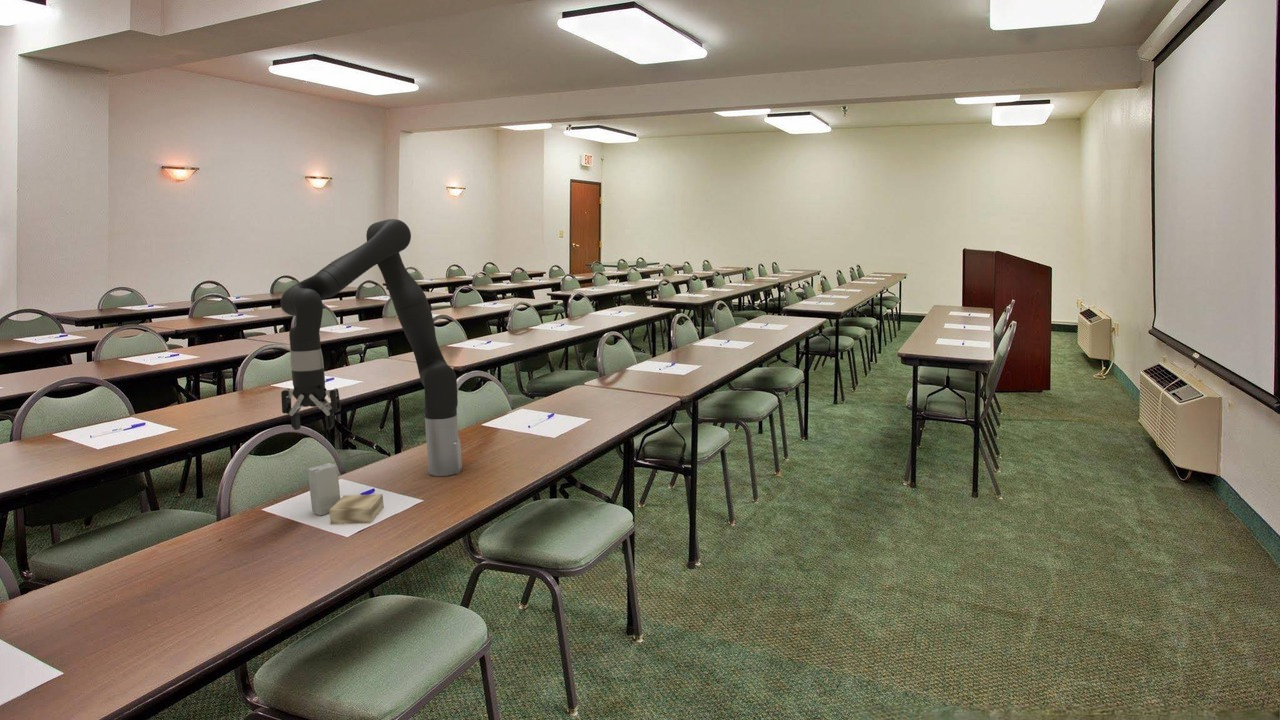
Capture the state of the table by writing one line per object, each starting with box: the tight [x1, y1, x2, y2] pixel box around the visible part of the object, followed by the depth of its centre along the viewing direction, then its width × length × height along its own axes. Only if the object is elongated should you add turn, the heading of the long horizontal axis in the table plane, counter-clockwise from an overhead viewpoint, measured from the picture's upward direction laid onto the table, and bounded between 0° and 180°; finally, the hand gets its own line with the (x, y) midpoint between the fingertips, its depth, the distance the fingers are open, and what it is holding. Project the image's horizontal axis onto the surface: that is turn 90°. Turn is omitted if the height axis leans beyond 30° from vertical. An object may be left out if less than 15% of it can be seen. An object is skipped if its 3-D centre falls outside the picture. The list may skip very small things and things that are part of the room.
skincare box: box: [307, 462, 341, 517], centre depth 188 cm, size 6×4×12 cm
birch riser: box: [329, 493, 384, 525], centre depth 186 cm, size 10×10×4 cm
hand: (313, 429), depth 188 cm, fingers open, 8 cm apart
